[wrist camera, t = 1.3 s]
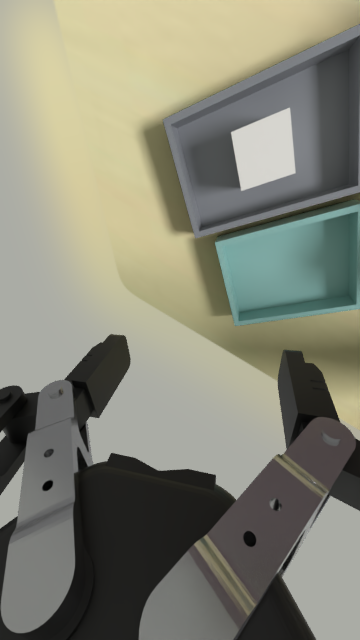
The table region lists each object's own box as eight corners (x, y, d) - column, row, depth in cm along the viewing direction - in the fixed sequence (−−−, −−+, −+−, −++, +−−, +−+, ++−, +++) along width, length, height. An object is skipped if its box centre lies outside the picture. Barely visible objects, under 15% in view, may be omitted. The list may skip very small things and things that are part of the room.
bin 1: (355, 38, 19) (371, 18, 17) (354, 188, 24) (366, 190, 22) (171, 124, 25) (162, 119, 22) (199, 232, 30) (195, 238, 27)
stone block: (283, 118, 22) (289, 107, 18) (288, 172, 24) (295, 173, 20) (233, 138, 24) (230, 132, 20) (242, 188, 26) (241, 190, 22)
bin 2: (354, 199, 24) (365, 202, 22) (353, 296, 29) (362, 308, 27) (217, 236, 29) (214, 242, 27) (235, 314, 34) (235, 326, 32)
